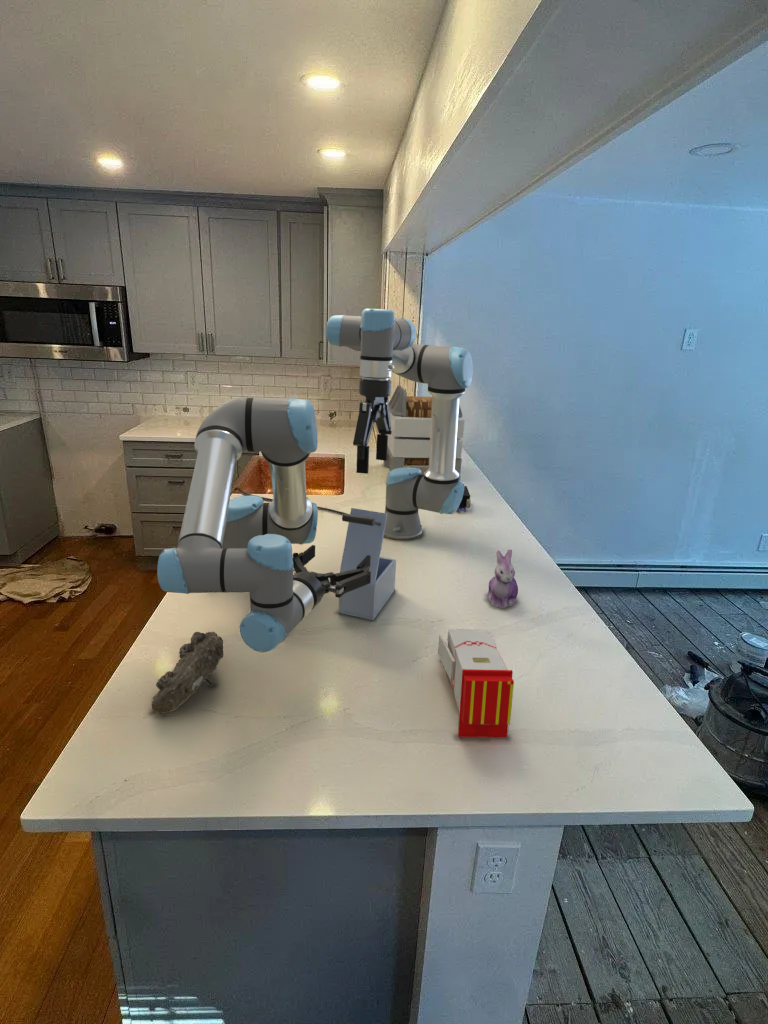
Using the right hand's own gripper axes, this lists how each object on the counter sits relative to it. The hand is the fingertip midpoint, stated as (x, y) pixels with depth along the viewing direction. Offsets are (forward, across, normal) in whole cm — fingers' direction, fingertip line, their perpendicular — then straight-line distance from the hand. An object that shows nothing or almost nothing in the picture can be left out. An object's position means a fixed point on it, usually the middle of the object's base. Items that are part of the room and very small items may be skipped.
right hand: (372, 466), depth 140 cm
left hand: (+16, -19, 0) cm, 25 cm away
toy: (+38, -28, -33) cm, 57 cm away
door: (+20, -4, 0) cm, 20 cm away
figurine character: (+38, +88, -7) cm, 96 cm away
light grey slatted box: (+38, +129, +22) cm, 137 cm away
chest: (+38, 0, 0) cm, 38 cm away
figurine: (+38, +15, -34) cm, 53 cm away
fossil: (+38, -47, +21) cm, 64 cm away
